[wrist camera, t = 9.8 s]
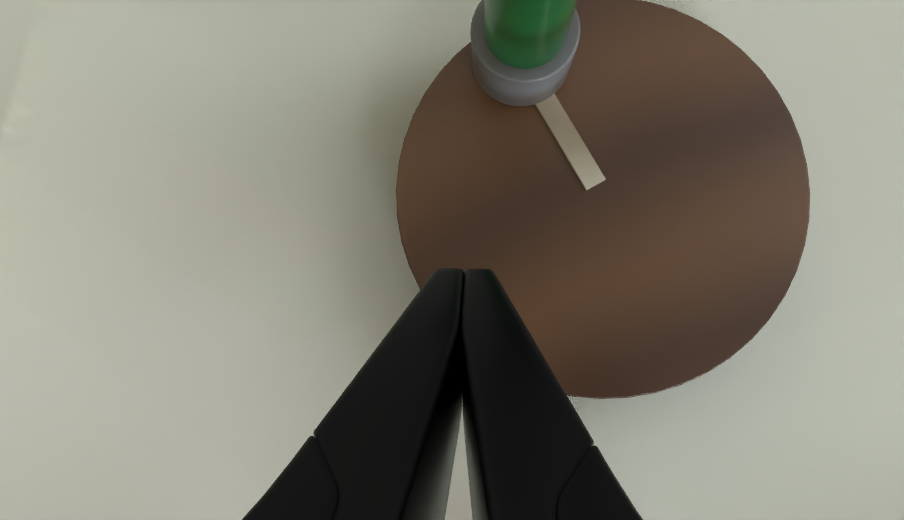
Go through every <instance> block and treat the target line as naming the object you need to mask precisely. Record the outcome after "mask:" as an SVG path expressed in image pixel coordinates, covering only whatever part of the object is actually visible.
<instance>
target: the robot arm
mask: <svg viewBox="0 0 904 520" xmlns="http://www.w3.org/2000/svg"><path fill="white" fill-rule="evenodd" d="M462 397H463V422H464V434H465V444H466V455H467V465H468V476H469V486H470V497H471V507H472V518H473V520H643V519H642V518H641V516H640V515H639V513H638V512H637V511H636V509H635V507H634V506H633V504H632V503H631V501H630V500H629V498H628V496H627V495H626V493H625V492H624V490H623V488H622V487H621V485H620V484H619V482H618V481H617V479H616V477H615V476H614V474H613V473H612V471H611V469H610V468H609V466H608V464H607V462H606V461H605V459H604V457H603V456H602V454H601V452H600V451H599V449H598V447H597V446H593V443H594V441H593V439H592V437H591V436H590V434H589V432H588V431H587V429H586V427H585V426H584V424H583V422H582V420H581V419H580V417H579V415H578V414H577V412H576V410H575V409H574V407H573V405H572V404H571V402H570V400H569V398H568V397H567V395H566V393H565V392H564V390H563V388H562V387H561V385H560V383H559V381H558V380H557V378H556V376H555V375H554V373H553V371H552V370H551V368H550V366H549V364H548V363H547V361H546V359H545V358H544V356H543V354H542V353H541V351H540V349H539V347H538V346H537V344H536V342H535V341H534V339H533V337H532V336H531V334H530V332H529V330H528V329H527V327H526V325H525V324H524V322H523V320H522V319H521V317H520V315H519V313H518V312H517V310H516V308H515V307H514V305H513V303H512V302H511V300H510V298H509V296H508V295H507V293H506V291H505V290H504V288H503V286H502V285H501V283H500V281H499V279H498V278H497V276H496V274H495V273H494V271H493V270H491V269H467V270H466V271H465V274H464V271H463V270H462V269H460V268H438V269H437V270H435V271H434V273H433V274H432V275H431V277H430V278H429V279H428V281H427V282H426V283H425V285H424V286H423V287H422V289H421V290H420V291H419V293H418V294H417V295H416V297H415V298H414V299H413V301H412V302H411V303H410V304H409V306H408V307H407V308H406V310H405V311H404V312H403V314H402V315H401V316H400V318H399V319H398V320H397V322H396V323H395V324H394V326H393V327H392V328H391V330H390V331H389V332H388V334H387V335H386V336H385V338H384V339H383V340H382V342H381V343H380V344H379V346H378V347H377V348H376V350H375V351H374V352H373V354H372V355H371V356H370V357H369V359H368V360H367V361H366V363H365V364H364V365H363V367H362V368H361V369H360V371H359V372H358V373H357V375H356V376H355V377H354V379H353V380H352V381H351V383H350V384H349V385H348V387H347V388H346V389H345V391H344V392H343V393H342V395H341V396H340V397H339V399H338V400H337V401H336V403H335V404H334V405H333V407H332V408H331V409H330V410H329V412H328V413H327V414H326V416H325V417H324V418H323V420H322V421H321V422H320V424H319V425H318V426H317V428H316V429H315V430H314V436H310V437H309V438H308V439H307V440H306V442H305V443H304V444H303V446H302V447H301V448H300V450H299V451H298V453H297V454H296V455H295V457H294V458H293V459H292V461H291V462H290V463H289V464H288V466H287V467H286V468H285V469H284V470H283V472H282V473H281V474H280V475H279V477H278V478H277V479H276V480H275V482H274V483H273V484H272V485H271V487H270V488H269V489H268V490H267V492H266V493H265V494H264V495H263V497H262V498H261V499H260V500H259V501H258V502H257V503H256V504H255V506H254V507H253V508H252V509H251V510H250V511H249V512H248V513H247V515H246V516H245V517H244V518H243V519H242V520H444V519H445V513H446V506H447V500H448V494H449V488H450V482H451V476H452V470H453V463H454V457H455V451H456V445H457V439H458V433H459V426H460V419H461V411H462Z"/></svg>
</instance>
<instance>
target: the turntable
mask: <svg viewBox="0 0 904 520" xmlns="http://www.w3.org/2000/svg"><path fill="white" fill-rule="evenodd" d="M396 198H397V218H398V223H399V229H400V235H401V241H402V244H403V247H404V251H405V254H406V257H407V260H408V264H409V267H410V269H411V271H412V273H413V275H414V277H415V280H416V282H417V284H418V286H419V288H420V290H421V289H422V287H423V286H424V285H425V283H426V282H427V281H428V279H429V278H430V277H431V275H432V274H433V273H434V271H435V270H437V269H438V268H460V269H462V270H463V271H464V274H465V271H466V270H467V269H491V270H493V271H494V273H495V274H496V276H497V278H498V279H499V281H500V283H501V285H502V286H503V288H504V290H505V291H506V293H507V295H508V296H509V298H510V300H511V302H512V303H513V305H514V307H515V308H516V310H517V312H518V313H519V315H520V317H521V319H522V320H523V322H524V324H525V325H526V327H527V329H528V330H529V332H530V334H531V336H532V337H533V339H534V341H535V342H536V344H537V346H538V347H539V349H540V351H541V353H542V354H543V356H544V358H545V359H546V361H547V363H548V364H549V366H550V368H551V370H552V371H553V373H554V375H555V376H556V378H557V380H558V381H559V383H560V385H561V387H562V388H563V390H564V392H565V393H566V395H569V396H575V397H586V398H597V399H606V398H629V397H634V396H640V395H646V394H652V393H657V392H660V391H663V390H666V389H669V388H672V387H676V386H679V385H682V384H684V383H686V382H688V381H691V380H693V379H695V378H697V377H699V376H701V375H703V374H705V373H707V372H709V371H711V370H712V369H714V368H715V367H717V366H718V365H720V364H721V363H723V362H724V361H726V360H728V359H729V358H731V357H732V356H733V355H734V354H735V353H736V352H738V351H739V350H740V349H741V348H742V347H743V346H745V345H746V344H747V343H748V342H749V341H750V340H751V339H752V338H753V337H754V336H755V335H756V334H757V333H758V332H759V330H760V329H761V328H762V327H763V326H764V325H765V324H766V322H767V321H768V320H769V319H770V318H771V316H772V315H773V313H774V311H775V310H776V308H777V307H778V305H779V304H780V302H781V301H782V299H783V298H784V296H785V294H786V292H787V290H788V288H789V286H790V284H791V282H792V280H793V278H794V276H795V273H796V271H797V268H798V265H799V262H800V259H801V256H802V252H803V249H804V246H805V241H806V235H807V229H808V223H809V207H810V188H809V179H808V170H807V163H806V159H805V155H804V151H803V147H802V143H801V139H800V137H799V134H798V132H797V129H796V127H795V124H794V122H793V119H792V117H791V114H790V113H789V111H788V109H787V107H786V105H785V104H784V102H783V100H782V98H781V97H780V95H779V93H778V91H777V90H776V89H775V87H774V86H773V85H772V83H771V82H770V81H769V79H768V78H767V77H766V75H765V74H764V73H763V71H762V70H761V69H760V68H759V67H758V66H757V65H756V64H755V63H754V62H753V61H752V60H751V59H750V58H749V57H748V56H747V55H746V54H745V53H744V52H743V51H742V50H741V49H740V48H739V47H737V46H736V45H735V44H734V43H732V42H731V41H730V40H729V39H727V38H726V37H725V36H723V35H722V34H721V33H719V32H717V31H716V30H714V29H712V28H711V27H709V26H707V25H706V24H704V23H702V22H701V21H699V20H697V19H695V18H692V17H690V16H688V15H686V14H683V13H681V12H679V11H677V10H674V9H671V8H667V7H664V6H661V5H657V4H654V3H651V2H646V1H640V0H481V2H480V3H479V5H478V6H477V8H476V10H475V13H474V15H473V18H472V23H471V42H470V43H469V44H468V45H467V46H465V47H464V48H463V49H462V50H461V51H459V52H458V53H457V54H456V55H455V56H454V57H453V58H452V60H451V61H450V62H449V63H448V64H447V65H446V66H445V67H444V68H443V69H442V70H441V72H440V73H439V74H438V76H437V77H436V78H435V80H434V81H433V83H432V84H431V85H430V87H429V88H428V90H427V91H426V92H425V94H424V96H423V98H422V100H421V102H420V104H419V106H418V107H417V109H416V111H415V113H414V115H413V117H412V120H411V123H410V125H409V128H408V131H407V134H406V136H405V139H404V143H403V147H402V152H401V156H400V160H399V165H398V176H397V187H396Z"/></svg>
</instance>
